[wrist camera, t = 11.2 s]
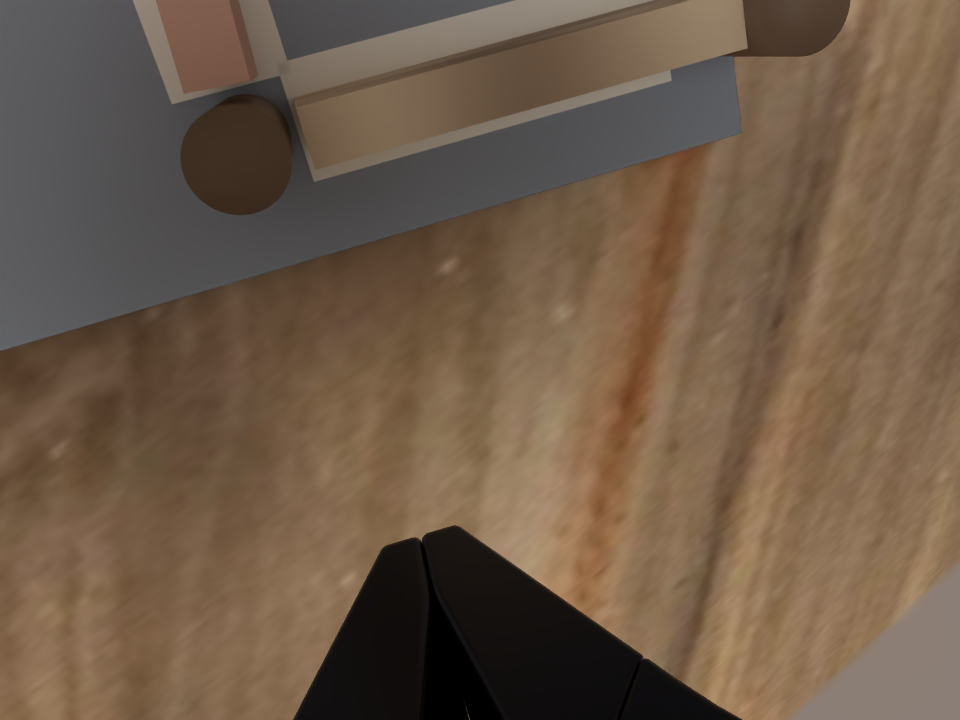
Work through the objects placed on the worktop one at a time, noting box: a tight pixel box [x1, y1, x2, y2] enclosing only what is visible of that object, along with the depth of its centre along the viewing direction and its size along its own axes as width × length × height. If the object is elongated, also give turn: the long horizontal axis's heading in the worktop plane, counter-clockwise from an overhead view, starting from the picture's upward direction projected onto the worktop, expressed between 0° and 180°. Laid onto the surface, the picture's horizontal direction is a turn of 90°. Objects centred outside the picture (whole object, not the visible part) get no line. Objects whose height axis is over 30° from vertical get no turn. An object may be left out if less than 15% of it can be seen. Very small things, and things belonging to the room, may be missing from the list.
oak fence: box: [180, 0, 850, 215], centre depth 16 cm, size 12×2×5 cm, turn 104°
